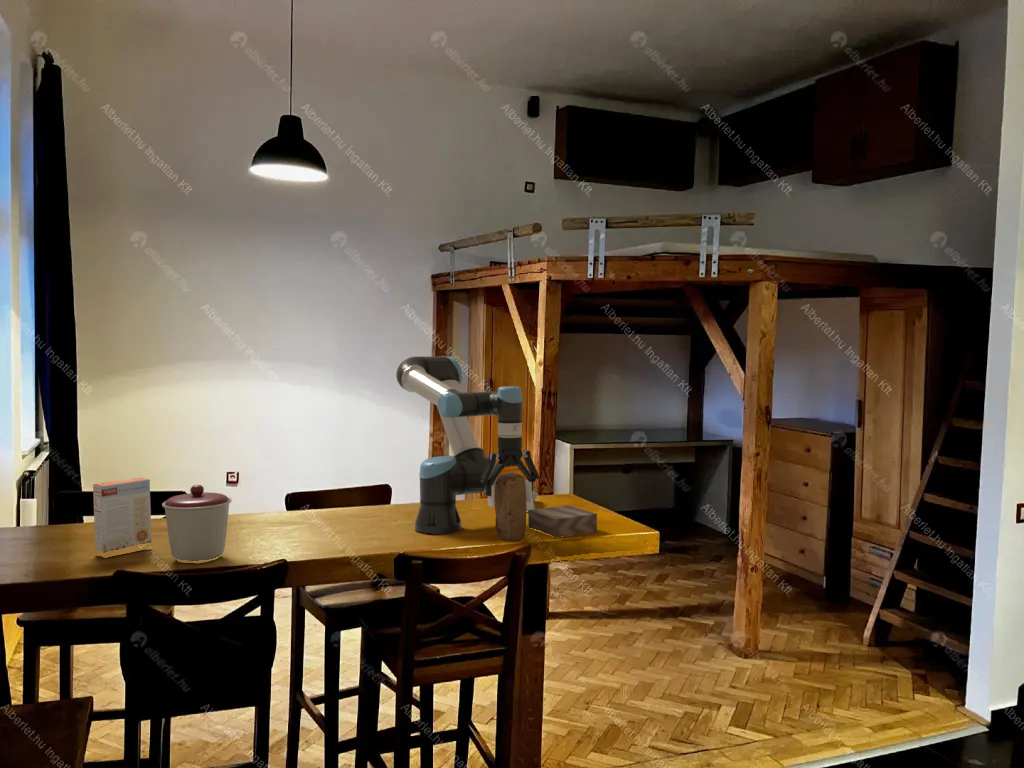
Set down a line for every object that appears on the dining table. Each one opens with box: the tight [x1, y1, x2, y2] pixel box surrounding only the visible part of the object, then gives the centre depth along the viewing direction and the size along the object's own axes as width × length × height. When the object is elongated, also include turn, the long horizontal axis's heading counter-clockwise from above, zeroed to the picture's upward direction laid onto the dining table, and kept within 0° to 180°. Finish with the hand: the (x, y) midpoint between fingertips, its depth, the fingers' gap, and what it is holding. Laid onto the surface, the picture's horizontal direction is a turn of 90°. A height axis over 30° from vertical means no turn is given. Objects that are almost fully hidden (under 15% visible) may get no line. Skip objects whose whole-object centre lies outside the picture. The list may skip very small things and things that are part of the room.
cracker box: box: [92, 477, 152, 553], centre depth 233 cm, size 14×6×21 cm, turn 141°
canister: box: [161, 484, 232, 561], centre depth 226 cm, size 18×18×21 cm
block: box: [494, 472, 527, 542], centre depth 252 cm, size 11×8×20 cm
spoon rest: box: [526, 490, 539, 511], centre depth 302 cm, size 24×12×7 cm, turn 7°
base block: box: [527, 504, 598, 538], centre depth 263 cm, size 16×16×6 cm
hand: (510, 504), depth 252 cm, fingers open, 13 cm apart
